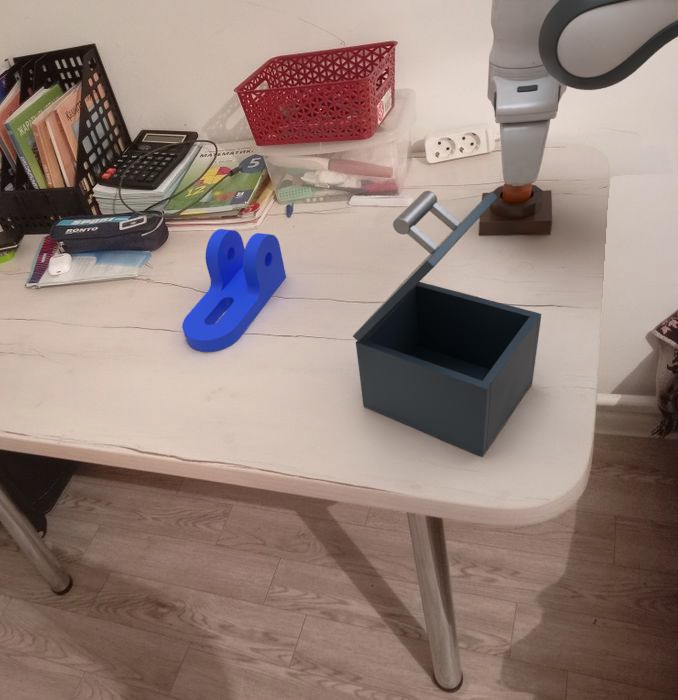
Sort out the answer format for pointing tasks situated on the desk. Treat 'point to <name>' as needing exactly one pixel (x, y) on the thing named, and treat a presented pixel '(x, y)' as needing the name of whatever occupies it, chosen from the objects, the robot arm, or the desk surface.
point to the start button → (516, 193)
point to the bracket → (234, 288)
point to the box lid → (425, 245)
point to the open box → (449, 364)
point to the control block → (518, 215)
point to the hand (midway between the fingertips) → (518, 180)
